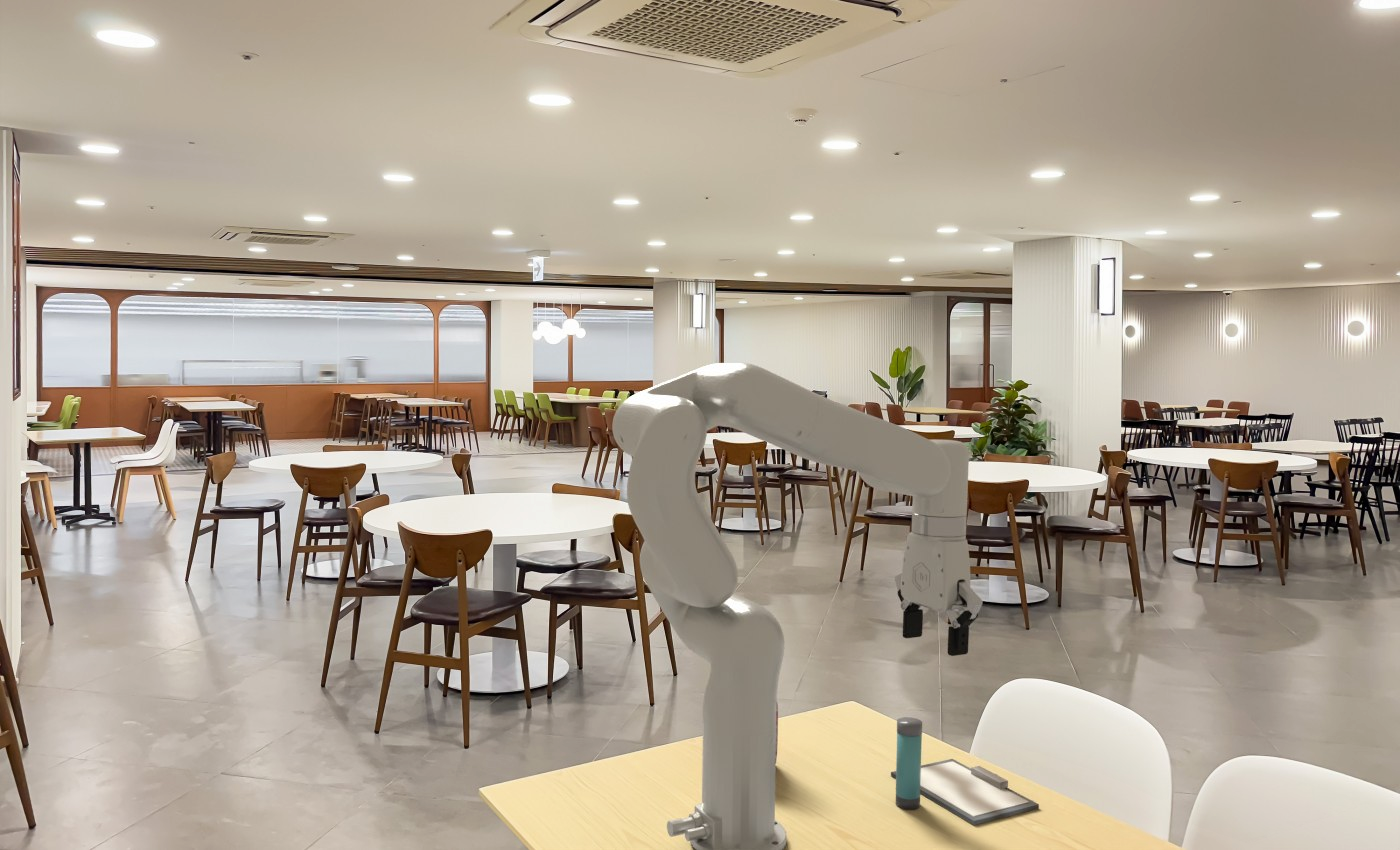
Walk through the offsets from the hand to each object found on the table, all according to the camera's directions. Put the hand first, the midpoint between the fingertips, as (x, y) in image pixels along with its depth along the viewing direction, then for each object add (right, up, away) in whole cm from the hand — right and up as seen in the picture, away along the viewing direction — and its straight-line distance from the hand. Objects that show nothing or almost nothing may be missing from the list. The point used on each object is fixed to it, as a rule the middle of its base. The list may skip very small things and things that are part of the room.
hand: (934, 645), depth 141 cm
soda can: (-25, -22, +12) cm, 35 cm away
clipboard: (+5, -22, +4) cm, 23 cm away
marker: (-4, -22, -1) cm, 23 cm away
